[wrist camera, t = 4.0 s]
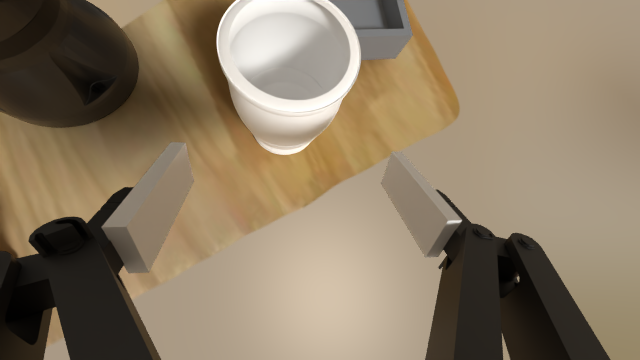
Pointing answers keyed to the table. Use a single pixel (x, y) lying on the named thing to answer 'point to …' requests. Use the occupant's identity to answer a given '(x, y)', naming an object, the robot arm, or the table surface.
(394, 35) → the footed square tray
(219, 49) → the jar
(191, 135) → the table surface
